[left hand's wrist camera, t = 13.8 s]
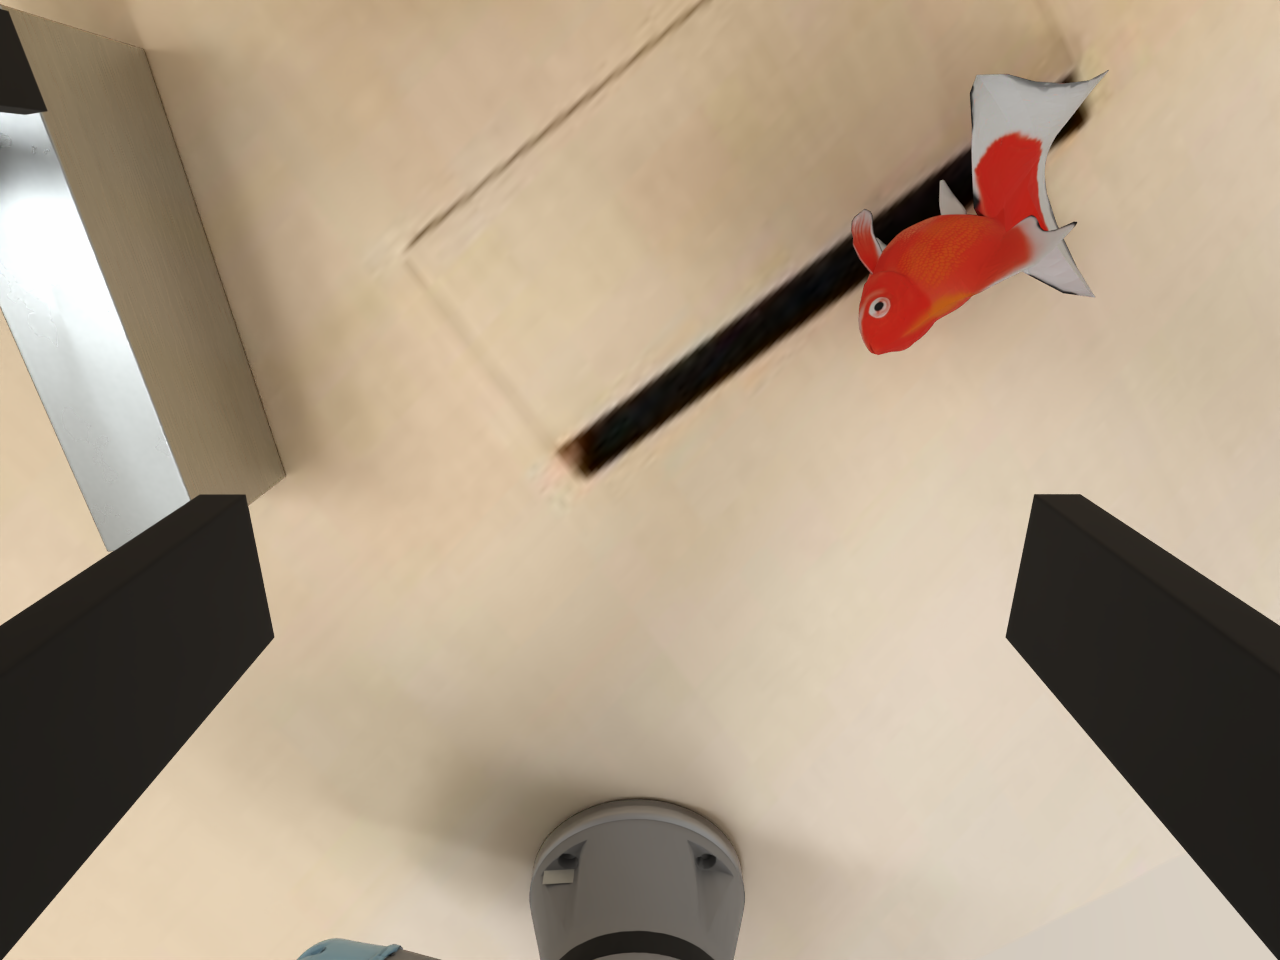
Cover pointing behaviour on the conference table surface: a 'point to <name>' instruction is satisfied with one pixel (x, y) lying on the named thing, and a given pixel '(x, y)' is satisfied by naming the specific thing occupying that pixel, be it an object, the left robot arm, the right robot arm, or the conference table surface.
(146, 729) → the left robot arm
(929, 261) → the fish
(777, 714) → the conference table surface
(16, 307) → the bar
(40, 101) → the right robot arm
